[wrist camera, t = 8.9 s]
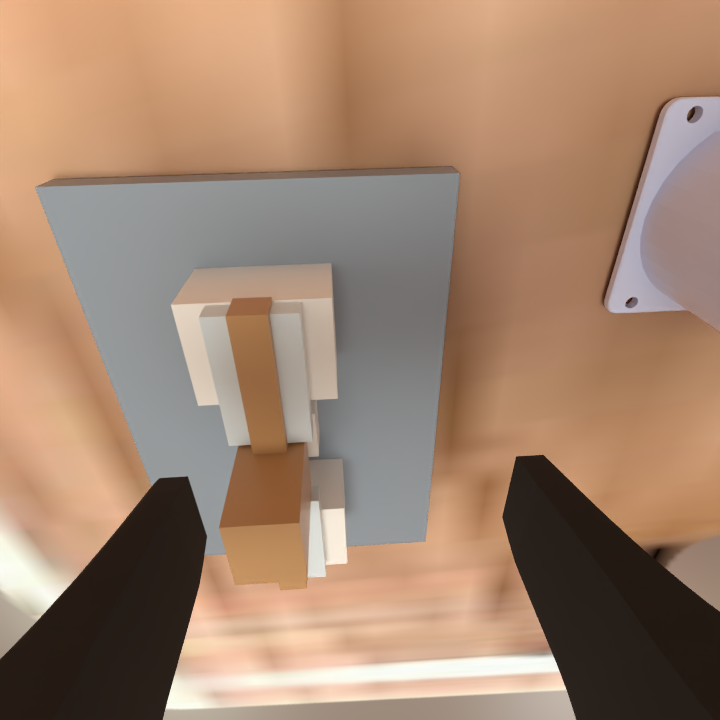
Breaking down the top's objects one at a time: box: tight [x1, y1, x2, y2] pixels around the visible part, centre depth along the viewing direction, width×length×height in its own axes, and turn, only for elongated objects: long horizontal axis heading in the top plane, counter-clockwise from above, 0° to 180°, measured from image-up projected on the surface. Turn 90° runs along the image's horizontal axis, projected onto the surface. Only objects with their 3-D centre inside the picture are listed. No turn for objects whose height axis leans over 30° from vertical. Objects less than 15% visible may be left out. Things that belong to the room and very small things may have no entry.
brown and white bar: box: [199, 297, 326, 590], centre depth 16 cm, size 3×14×4 cm, turn 1°
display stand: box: [35, 166, 460, 565], centre depth 20 cm, size 14×20×4 cm
